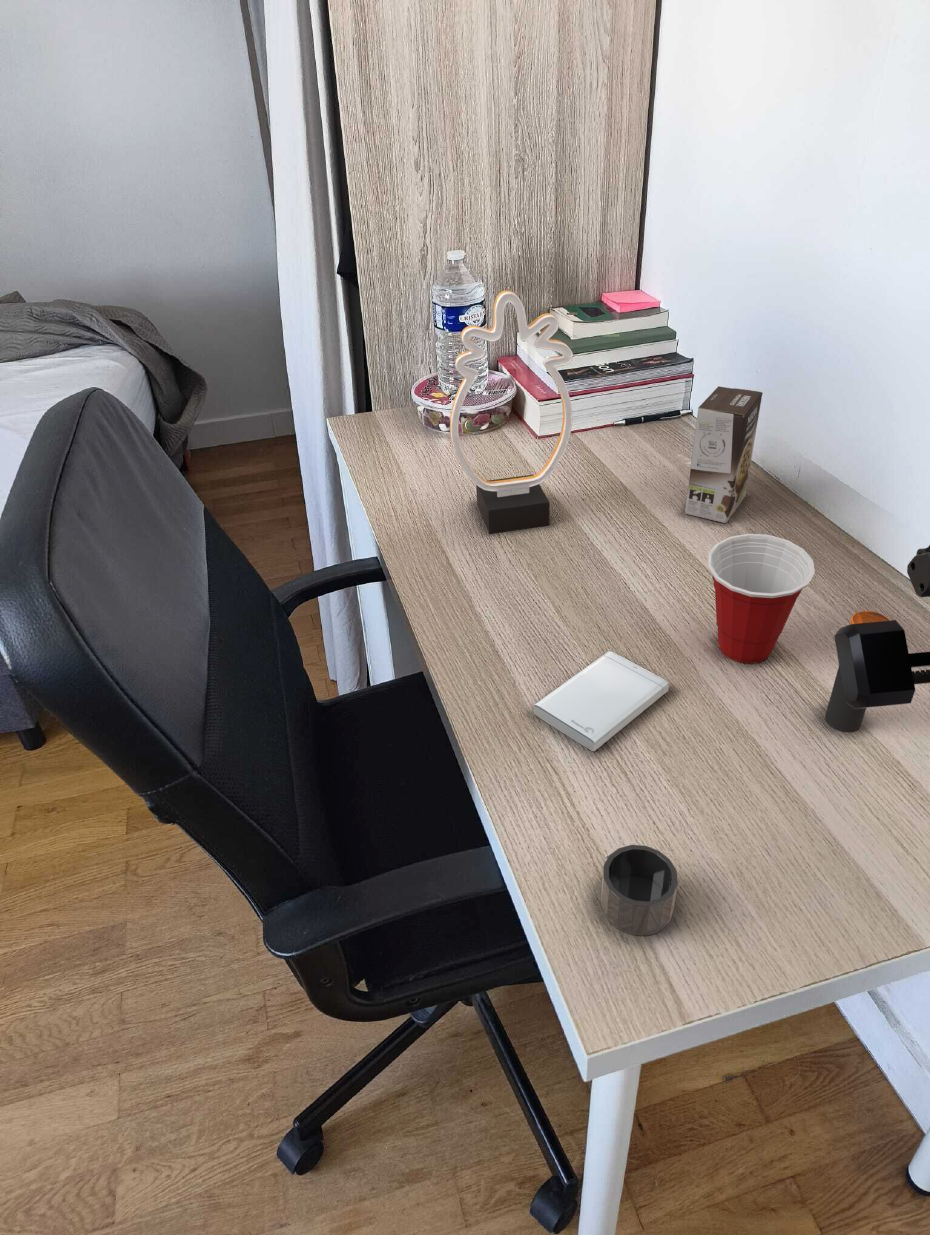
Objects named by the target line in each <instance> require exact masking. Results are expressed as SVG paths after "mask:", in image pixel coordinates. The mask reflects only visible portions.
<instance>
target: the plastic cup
mask: <svg viewBox="0 0 930 1235" xmlns="http://www.w3.org/2000/svg"><path fill="white" fill-rule="evenodd" d="M707 568H708V570H709V572H710V574H711V576H712V581H713V588H714V597H715V598H714V599H715V600H714V601H715V619H716V626H717V644H718V648H719V651H721V653H722V654H723V655H724V656H725V657H727V658H728V659H729V660H732V661H735V662H738V663H739V664H740V663H741V664H757V663H761V662H764V661H765V660H768V658H769V656H771V654H772V652H773V651H774V649H775V646H776V644H777V643H778V639H779V637H780V636H781V634H782V632H783V631H784V628H785V626H786V624H787V622H788V619H789V617H790V615H791V612H792V611H793V608H794V606H795V604H796V602H797V600H798V597H799V596H800V594H801V593H802V591H803V589H806V588H807V586H808V585H809V583H810V582H811V580H812V579H813V577H814V575H815V574H816V571H815V564H814V559H813V558H812V557H811V556H810V554H808V553H807V552H806V550H805V549H804V548H802V547H801V546H799V545H797V544H796V543H794V542H792V541H790V540H788V539H786V538H782V537H778V536H774V535H771V534H765V533H764V534H763V533H744V534H738V535H732V536H729V537H726V538H725V539H722V540H721V541H718V542H717V543H715V545H713V547H712V548H711V550H710V551H708V553H707Z"/></svg>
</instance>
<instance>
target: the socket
mask: <svg viewBox="0 0 930 1235" xmlns="http://www.w3.org/2000/svg"><path fill="white" fill-rule="evenodd" d="M678 878H679V877H678V871H677V868H676V867H675V866H674V864H673V862H672V860H671V859H670V858H669V857H667V856H666V855H665V854H664V853H663V852H661V850H659V849H656V848H653V847H650V846H648V845H642V844H628V845H626V846H622V847H618V848H617V849H616V850H615V851H613V852H612V853H610V854H609V855H608V856H607V858H606V860H605V862H604V864H603V867H602V879H601V893H600V894H601V895H600V896H601V897H600V898H601V899H600V903H601V908H602V912H603V915H604V916H605V918H606V919H607V921H608V922H609V923H610V924H611V925H612V926H614V928H616V929H618V930H619V931H621V932H623V933H624V934H628V935H631V936H637V937H645V936H651V935H654V934H657V933H659V932H661V931H662V930H664V929H665V928H666V927H667V926H668V925H669V923H670V921H671V919H672V917H673V912H674V910H675V903H676V898H677V891H678V885H679V879H678Z"/></svg>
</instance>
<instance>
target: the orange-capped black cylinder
mask: <svg viewBox="0 0 930 1235" xmlns="http://www.w3.org/2000/svg"><path fill="white" fill-rule="evenodd" d="M880 621H891V619H890V618H888V617H887V616H885V615H884V614H882V613H879V612H877V611H872V610H862V611H856V612H855V613H854V614H852V616H851V619H850V622H849V625H850V624H858V623H869V622H880ZM866 710H867V708H860V709H853V708H852V707H851V706H850V705H848V704H847V703H846V702H845V696H844V690H843V684H842V678H841V672H840V667H839V666H838V668H837V671H836V675H835V679H834V681H833V686H832V690H831V694H830V697H829V700H828V704H827V707H826V710H825V711H826V712H825V715H824V719H825V722H826V723H827V724H828V725H829V726H830V727H831V728H833V729H834V730H837V731H840V732H844V733H852V732H856V731H857V730H859V729H860V728H861V726H862V723H863V719H864V717H865V714H866Z"/></svg>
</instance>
